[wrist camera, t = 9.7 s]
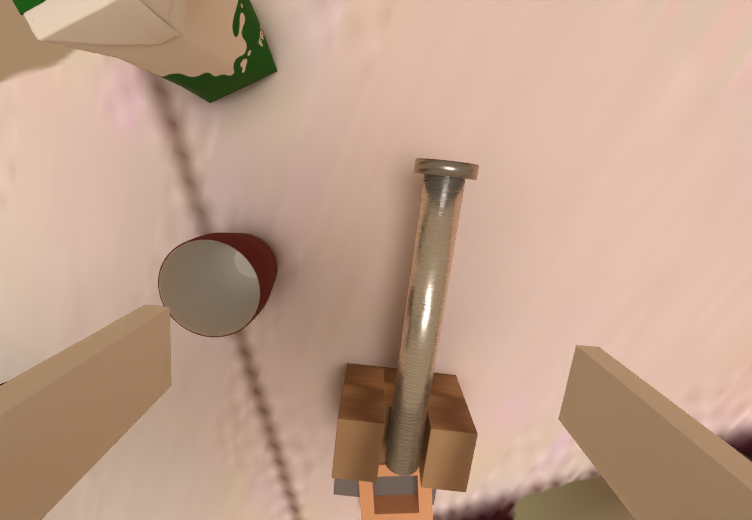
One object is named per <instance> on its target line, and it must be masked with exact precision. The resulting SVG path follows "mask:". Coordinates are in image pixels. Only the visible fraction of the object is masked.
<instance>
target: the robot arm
mask: <svg viewBox="0 0 752 520" xmlns="http://www.w3.org/2000/svg"><path fill="white" fill-rule="evenodd" d="M170 386H171V348H170V307H163V306H153V305H144V306H142V307H140V308H139V309H137V310H135V311H133V312H131V313H130V314H128V315H126V316H124V317H122V318H121V319H119V320H117V321H115V322H114V323H112V324H110V325H108V326H106V327H105V328H103V329H101V330H99V331H97V332H96V333H94V334H92V335H90V336H89V337H87V338H85V339H83V340H81V341H80V342H78V343H76V344H74V345H72V346H71V347H69V348H67V349H65V350H64V351H62V352H60V353H58V354H56V355H55V356H53V357H51V358H49V359H48V360H46V361H44V362H42V363H40V364H39V365H37V366H35V367H33V368H31V369H30V370H28V371H26V372H24V373H23V374H21V375H19V376H17V377H15V378H14V379H12V380H10V381H8V382H5V383H2V384H0V520H41V519H42V518H43V517H44V516H45V515H46V514H47V513H48V512H49V511H50V510H51V509H52V508H53V507H54V506H55V505H56V504H57V503H58V502H59V501H60V500H61V499H62V498H63V497H64V496H65V495H66V493H67V492H68V491H69V490H70V489H71V488H72V487H73V486H74V485H75V484H76V483H77V482H78V481H79V480H80V479H81V478H82V477H83V476H84V475H85V474H86V473H87V472H88V471H89V470H90V469H91V468H92V467H93V466H94V465H95V464H96V463H97V461H98V460H99V459H100V458H101V457H102V456H103V455H104V454H105V453H106V452H107V451H108V450H109V449H110V448H111V447H112V446H113V445H114V444H115V443H116V442H117V441H118V440H119V439H120V438H121V437H122V436H123V435H124V434H125V433H126V432H127V431H128V429H129V428H130V427H131V426H132V425H133V424H134V423H135V422H136V421H137V420H138V419H139V418H140V417H141V416H142V415H143V414H144V413H145V412H146V411H147V410H148V409H149V408H150V407H151V406H152V405H153V404H154V403H155V402H156V401H157V400H158V399H159V397H160V396H161V395H162V394H163V393H164V392H165V391H166V390H167V389H168V388H169V387H170ZM559 420H560V422H561V423H562V424H563V426H564V427H565V428H566V429H567V431H568V432H569V433H570V435H571V436H572V437H573V439H574V440H575V441H576V443H577V444H578V445H579V446H580V448H581V449H582V450H583V452H584V453H585V454H586V456H587V457H588V458H589V460H590V461H591V462H592V463H593V465H594V466H595V467H596V469H597V470H598V471H599V473H600V474H601V475H602V476H603V478H604V479H605V480H606V482H607V483H608V484H609V486H610V487H611V488H612V490H613V491H614V492H615V493H616V495H617V496H618V497H619V499H620V500H621V501H622V502H623V504H624V505H625V507H626V508H627V509H628V510H629V512H630V513H631V514H632V516H633V517H634V518H635V520H752V459H750V458H749V457H748V456H746V455H745V454H743V453H741V452H739V451H737V450H736V449H734V448H732V447H731V446H730V445H728V444H727V443H726V442H725V441H723V440H722V439H721V438H719V437H718V436H717V435H715V434H714V433H713V432H711V431H710V430H709V429H707V428H706V427H705V426H703V425H702V424H701V423H699V422H698V421H697V420H695V419H694V418H693V417H691V416H690V415H689V414H687V413H686V412H685V411H683V410H682V409H681V408H679V407H678V406H677V405H675V404H674V403H673V402H671V401H670V400H669V399H667V398H666V397H665V396H663V395H662V394H661V393H659V392H658V391H657V390H655V389H654V388H653V387H651V386H650V385H649V384H647V383H646V382H645V381H643V380H642V379H641V378H639V377H638V376H637V375H635V374H634V373H633V372H631V371H630V370H629V369H628V368H626V367H625V366H624V365H622V364H621V363H620V362H618V361H617V360H616V359H614V358H613V357H612V356H610V355H609V354H608V353H606V352H605V351H604V350H602V349H601V348H600V347H592V346H582V345H576V348H575V352H574V356H573V361H572V365H571V369H570V373H569V377H568V382H567V386H566V390H565V394H564V398H563V403H562V407H561V411H560V415H559Z"/></svg>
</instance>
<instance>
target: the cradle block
mask: <svg viewBox="0 0 752 520" xmlns="http://www.w3.org/2000/svg"><path fill="white" fill-rule="evenodd" d="M396 375H397V369H394V368H385V367H375V366H366V365H357V364H348V365H347V370H346V376H345V382H344V387H343V393H342V398H341V404H340V410H339V415H338V422H337V432H336V442H335V451H334V461H333V471H332V478H338V479H348V480H357V481H366V482H376V483H377V476H378V468H379V462H385V454H386V447H387V440H388V432H389V425H390V418H391V411H392V404H393V397H394V389H395V382H396ZM476 439H477V431H476V428H475V426H474V423H473V420H472V418H471V415H470V412H469V410H468V407H467V404H466V402H465V399H464V396H463V393H462V391H461V388H460V385H459V383H458V380H457V377H456V375H448V374H439V373H433V379H432V385H431V391H430V397H429V403H428V410H427V416H426V422H425V428H424V434H423V440H422V446H421V452H420V458H419V464H418V466H419V474H420V481H421V487H423V488H432V489H441V490H451V491H460V492H466V489H467V484H468V479H469V474H470V469H471V464H472V459H473V454H474V449H475V444H476Z"/></svg>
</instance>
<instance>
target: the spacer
mask: <svg viewBox="0 0 752 520" xmlns="http://www.w3.org/2000/svg"><path fill="white" fill-rule="evenodd" d="M413 475H416V481H417V494H410V495H380V496H375V489H374V482H366V481H359V491H360V504H361V517H362V520H433V514H432V488H423V487H421V481H420V474H419V466H418V469H417V471H416V472H415V473H413V474H411V475H408V476H413ZM385 476H401V475H397V474H395V473H393V472H391V471H390V470H389V469H388V468H387V466H386V464H385V462H379V468H378V476H377V477H385Z"/></svg>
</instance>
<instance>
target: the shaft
mask: <svg viewBox="0 0 752 520" xmlns="http://www.w3.org/2000/svg"><path fill="white" fill-rule="evenodd" d="M478 169H479V165H475V164H470V163H463V162H455V161H447V160H436V159H422V158H417V159H416V160H415V168H414V173H419V174H424V181H423V189H422V196H421V203H420V210H419V217H418V224H417V232H416V239H415V246H414V253H413V260H412V267H411V275H410V282H409V289H408V296H407V303H406V311H405V318H404V325H403V332H402V339H401V346H400V354H399V361H398V368H397V375H396V382H395V389H394V397H393V404H392V411H391V418H390V425H389V432H388V440H387V447H386V454H385V464H386V466H387V468H388V469H389V470H390V471H391V472H393V473H395V474H397V475H401V476H408V475H411V474H413V473H415V472H416V471H417V469H418V464H419V458H420V452H421V446H422V440H423V434H424V428H425V422H426V416H427V410H428V403H429V397H430V391H431V385H432V379H433V373H434V367H435V361H436V355H437V349H438V342H439V336H440V330H441V324H442V318H443V312H444V306H445V300H446V294H447V288H448V281H449V275H450V269H451V263H452V257H453V251H454V245H455V239H456V233H457V227H458V220H459V214H460V208H461V202H462V196H463V190H464V184H465V179H471V180H477V174H478Z"/></svg>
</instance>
